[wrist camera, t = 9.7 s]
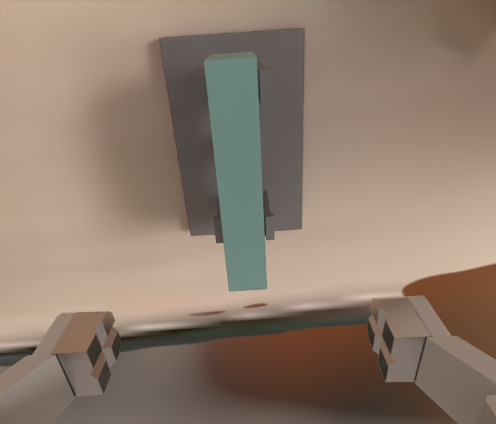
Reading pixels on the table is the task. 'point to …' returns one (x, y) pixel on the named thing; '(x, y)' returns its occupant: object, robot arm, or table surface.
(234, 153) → the frame bar
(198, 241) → the table surface
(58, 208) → the table surface
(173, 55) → the display stand
